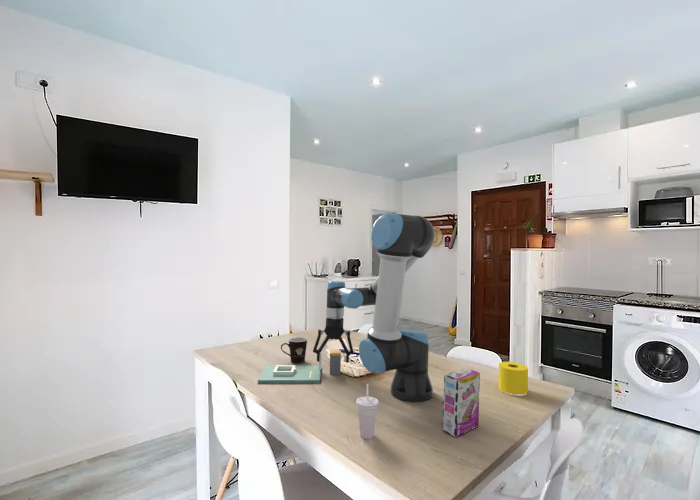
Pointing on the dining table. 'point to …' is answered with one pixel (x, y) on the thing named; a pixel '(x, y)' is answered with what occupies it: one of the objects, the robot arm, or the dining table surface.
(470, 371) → the candy bar box
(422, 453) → the dining table surface
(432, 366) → the dining table surface
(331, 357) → the plug
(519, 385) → the yellow toilet paper roll
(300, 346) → the coffee mug
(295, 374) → the board
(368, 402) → the smoothie
